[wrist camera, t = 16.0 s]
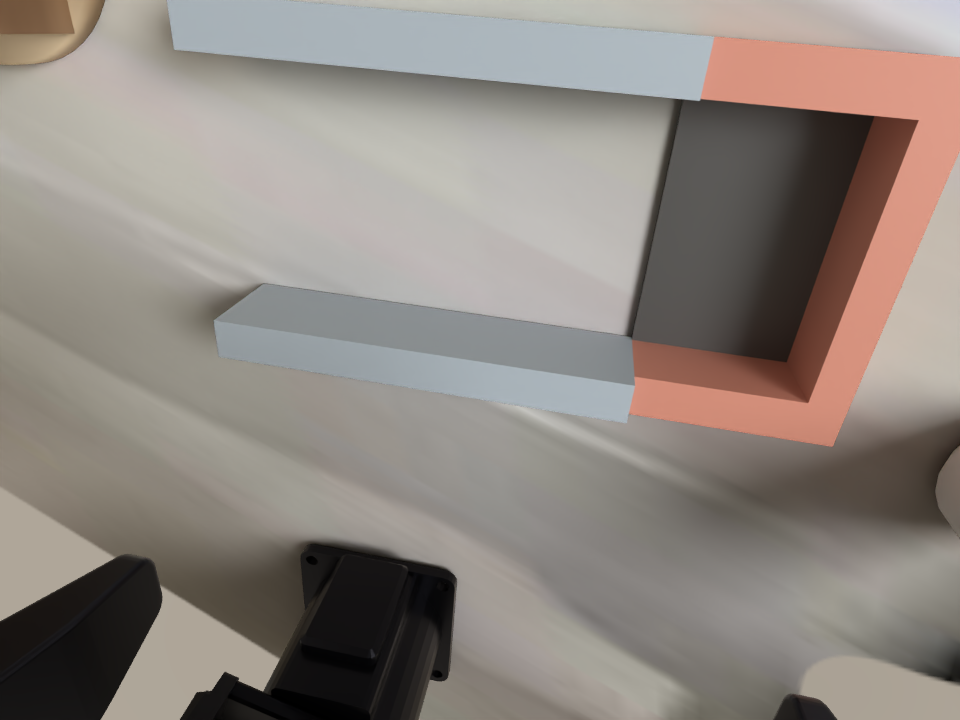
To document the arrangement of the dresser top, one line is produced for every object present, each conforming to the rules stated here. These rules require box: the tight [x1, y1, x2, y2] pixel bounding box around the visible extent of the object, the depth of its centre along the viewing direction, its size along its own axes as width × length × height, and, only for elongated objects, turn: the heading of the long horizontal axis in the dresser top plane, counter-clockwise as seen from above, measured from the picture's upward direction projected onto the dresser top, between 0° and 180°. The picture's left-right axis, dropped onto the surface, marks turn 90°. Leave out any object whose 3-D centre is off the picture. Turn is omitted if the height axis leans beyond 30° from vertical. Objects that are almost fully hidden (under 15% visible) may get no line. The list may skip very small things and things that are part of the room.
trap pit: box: [629, 37, 960, 447], centre depth 16 cm, size 9×6×2 cm, turn 176°
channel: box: [167, 0, 714, 423], centre depth 17 cm, size 9×12×3 cm
